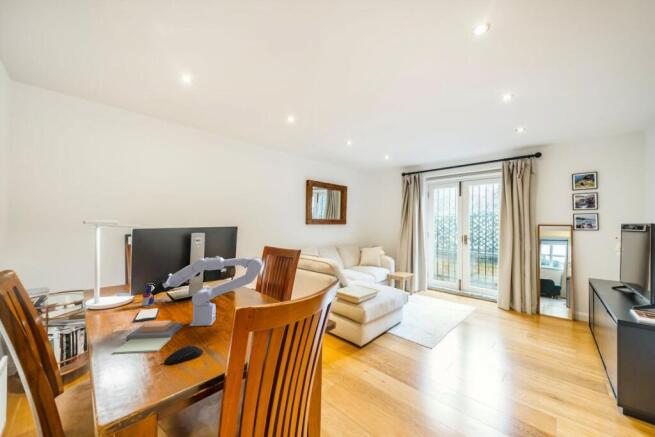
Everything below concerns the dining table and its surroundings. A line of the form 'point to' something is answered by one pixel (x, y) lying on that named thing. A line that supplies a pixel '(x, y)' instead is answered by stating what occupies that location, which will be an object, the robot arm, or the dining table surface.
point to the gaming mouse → (183, 355)
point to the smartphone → (147, 315)
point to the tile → (156, 326)
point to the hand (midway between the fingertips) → (156, 291)
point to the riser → (155, 332)
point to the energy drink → (148, 297)
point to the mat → (142, 345)
